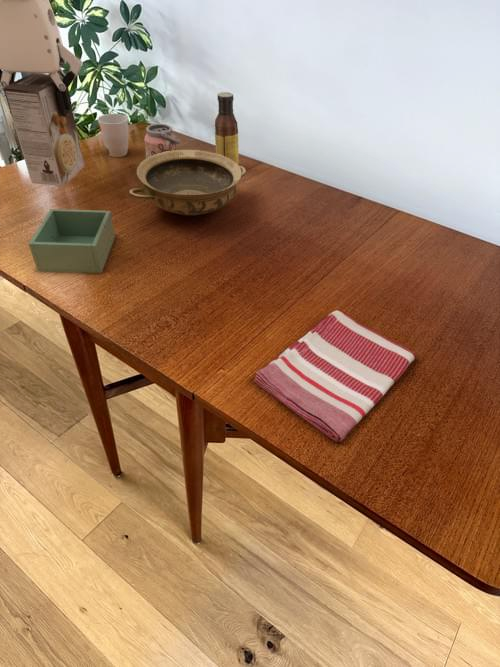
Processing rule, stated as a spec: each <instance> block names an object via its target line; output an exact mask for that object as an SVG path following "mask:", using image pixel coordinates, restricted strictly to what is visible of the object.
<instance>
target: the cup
mask: <svg viewBox="0 0 500 667" xmlns="http://www.w3.org/2000/svg"><path fill="white" fill-rule="evenodd" d="M97 123H98V128H99V133H100V136H101V139H102V142H103V146H104V148H105V149H106V152H107V154H108V156H109V157H113V158H122V157H125V156H127V154H128V149H129V139H130V138H129V136H130V133H129V132H130V130H129V118H128V116H127V115H124V114H121V113H106V114H101V115H100V116H98V117H97Z"/></svg>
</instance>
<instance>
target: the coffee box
mask: <svg viewBox="0 0 500 667" xmlns="http://www.w3.org/2000/svg"><path fill="white" fill-rule="evenodd" d="M2 89H3V92H4V96H5V100H6V103H7V106H8V109H9V113H10V115H11V119H12V122H13V126H14V129H15V132H16V136H17V139H18V143H19V145H20V149H21V152H22V156H23V159H24V162H25V165H26V169H27V172H28V176H29V178H30V182H31V183H32V184H38V185H46V186H53V187H54V186H55V187H61V188H62V187H64V186H66V185H67V184H68V183H69V182H70V181H71V180H72V179H73V178H74V177H75V176H76V175H77V174H79V172H80V171H81V170H82V169H84V168H85V163H84V157H83V153H82V148H81V143H80V138H79V134H78V129H77V125H76V124H77V123H76V121H75V116H74V111H73V108H72V109H71V110H70V113H69V114H68V115H67V116H66V117H63V116H61V112H60V108H59V103H58V99H57V95H56V91H57V90H58V87H57V85H56V84H55V83H54V81H53V80H52V78H51V77H50V75H49V74H43V73H28V74H27V75H25V76H23V77H21V78H19V79H17V80H15V82H13V83H11V84H9V85H7V86H5V87H3V88H2Z"/></svg>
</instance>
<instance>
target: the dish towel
mask: <svg viewBox="0 0 500 667" xmlns="http://www.w3.org/2000/svg"><path fill="white" fill-rule="evenodd" d="M416 358H417V356H416V353H415V352H414V351H412V350H411V349H409V348H407V347H405V346H404V345H402V344H400V343H398V342H395V341H393V340H392V339H390V338H388V337H387V336H385V335H383V334H382V333H379V332H377V331H375V330H374V329H372V328H370V327H368V326H367V325H364V324H362V323H359V322H358V321H357V320H355V319H354V318H352V317H350V316H349V315H347V314H345V313H344V312H342V311H340V310H338V309H337V310H334V311H332V312H331V313H330V314H328V315H326V316H325V317H324V318H322V319H321V320H320V321H319V322H318V323H316V324H315V325H314V326H313V327H311V329H310V330H309V331H308V332H307V333H306V334H305V335H304V336H302V337H301V338H300V339H298V340H297V341H295V342H294V343H293V344H291V345H290V346H288V347H287V348H286V349H285V350H284V351H283V352H282V353H281V354H279V355H278V356H277V357H276V358H275V359H274V360H272V361H271V362H269V363H268V364H267V365H266V366H264V367H262V368H261V369H259V370H257V371H255V378H254V379H253V383H255V384H256V385H257V386H258V387H259V388H261V389H262V390H264V391H265V392H266V393H267V394H269V395H271V397H273V398H275V399H276V400H277V401H279V402H280V403H281V404H282V405H284V406H285V407H286V408H288V409H289V410H290V411H292V412H293V413H295V415H296V416H299V417H300V418H301V419H304V421H306V422H307V423H309V424H310V425H311V426H312V427H314V428H316V429H317V430H318V431H320V432H321V433H323V434H324V435H325V436H327V437H328V438H329V439H330V440H332V441H334V442H337V443H341V442H342V441H343V440H345V438H346V437H347V435H348V434H349V433H350V432H351V431H352V430H353V429H354V428H355V427H356V426H357V424H359V422H361V420H362V419H363V418H364V417H365V416H367V414H368V413H369V412H370V411H371V409H373V408H374V407H375V406H376V404H378V402H379V401H381V400H382V398H383V397H384V395H385V394H386V393H387V392H388V391H389V389H390V388H391V387H392V386H393V385H394V384H395V383H396V382H397V381H398V380H399V379H400V378H401V377H403V376H402V375H403V374H405V372H406V371H407V370H408V368H409V367H410V365H411V364H412V362H414V361H415V360H416Z"/></svg>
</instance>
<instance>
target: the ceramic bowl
mask: <svg viewBox="0 0 500 667" xmlns="http://www.w3.org/2000/svg"><path fill="white" fill-rule="evenodd" d="M246 173H247V170H246V168H245V167H244V166H242V165H239V164H236V163H235V162H234V161H232V160H231V159H229V158H227V157H225V156H222V155H219V154H216V152H211V151H207V150H199V149H176V150H174V151H166V152H162V153H158V154H155V155H152V156H150V157H148V158H146V157H145V159H143V161H141V162H140V163H139V165H138V166H137V168H136V175H137V178H138V179H139V181H140V182H141V183H142V186H141V187H134V188H131V189H129V191H128V194H129V196H131V197H132V198H133V199H134V198H135V199H138V200H149V201H150V202H151V203H152V204H154V205H155V206H157V208H160V209H162V210H164V211H166V212H168V213H173V214H178V215H180V216H184V217H196V216H200V215H204V214H209V213H212V212H215V211H218V210H220V209H222V208H223V207H225V206H226V205H228V204H229V203H230V202H231V201H232V200H233V198H234V197H235V194H236V191H237V184H238V183H239V181H240V180H241V179H242V178H243V177H245V175H246ZM138 193H142V194H138ZM143 193H144V194H143Z"/></svg>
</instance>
